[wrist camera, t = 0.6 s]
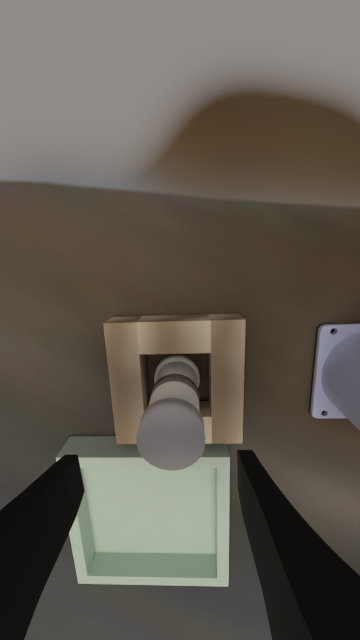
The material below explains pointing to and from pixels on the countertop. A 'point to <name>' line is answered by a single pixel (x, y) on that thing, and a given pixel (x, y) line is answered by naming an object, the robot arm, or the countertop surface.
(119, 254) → the countertop surface
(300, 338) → the countertop surface
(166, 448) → the cylinder
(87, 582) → the parts tray
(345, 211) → the countertop surface
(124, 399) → the wooden square frame
